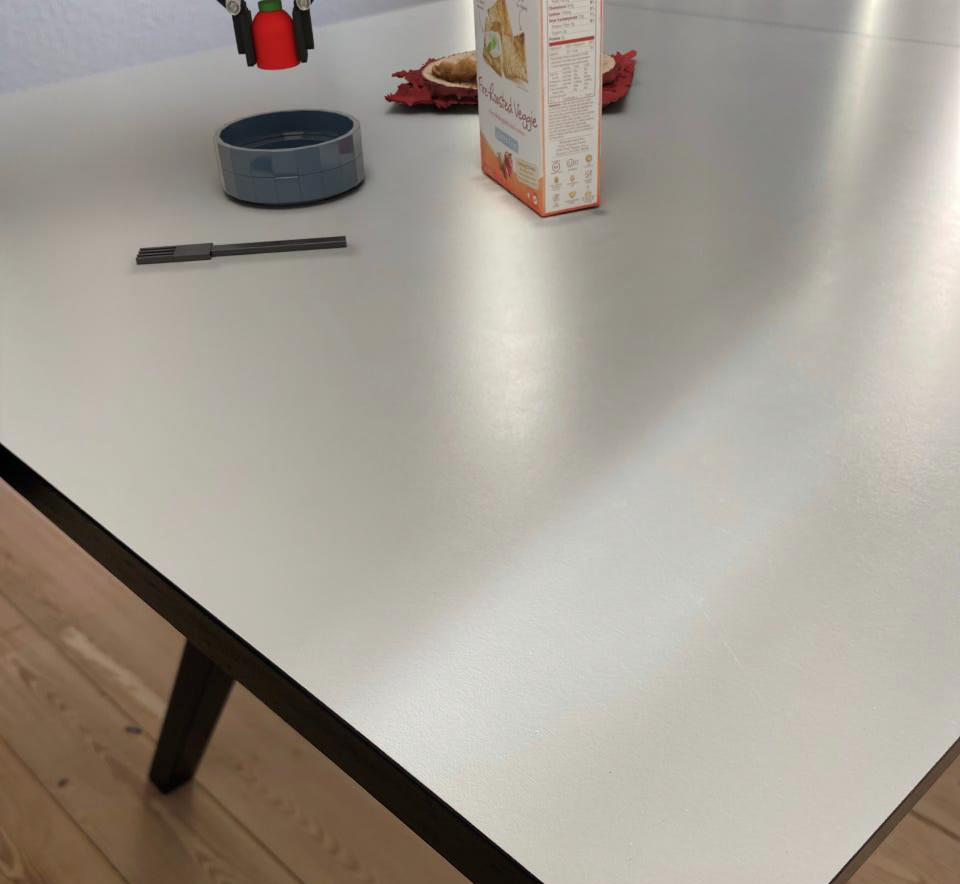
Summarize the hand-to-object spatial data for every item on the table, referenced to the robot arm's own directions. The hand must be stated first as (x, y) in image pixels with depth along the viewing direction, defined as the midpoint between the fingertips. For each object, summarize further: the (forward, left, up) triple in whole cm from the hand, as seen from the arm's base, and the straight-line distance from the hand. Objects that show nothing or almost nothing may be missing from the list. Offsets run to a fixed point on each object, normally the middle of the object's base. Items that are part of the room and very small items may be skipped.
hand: (278, 58), depth 97 cm
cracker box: (+22, -6, -11) cm, 25 cm away
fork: (-3, -16, -11) cm, 20 cm away
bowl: (0, 0, -11) cm, 11 cm away
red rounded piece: (0, 0, 0) cm, 0 cm away
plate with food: (+24, +30, -11) cm, 40 cm away
